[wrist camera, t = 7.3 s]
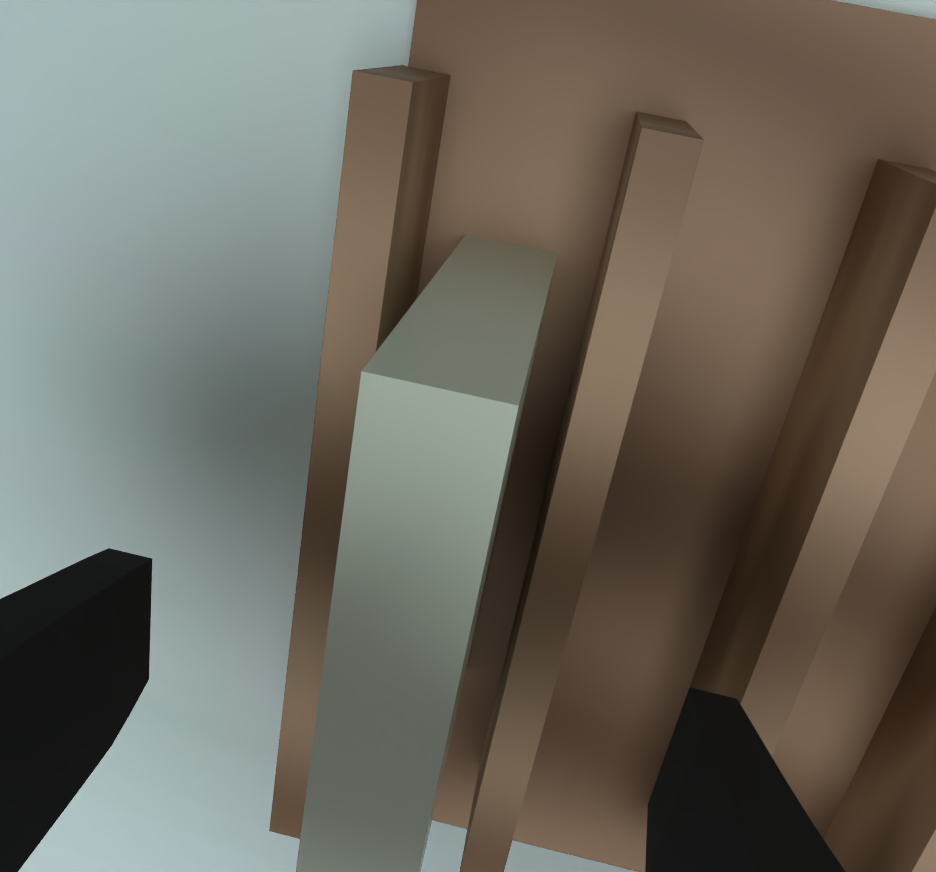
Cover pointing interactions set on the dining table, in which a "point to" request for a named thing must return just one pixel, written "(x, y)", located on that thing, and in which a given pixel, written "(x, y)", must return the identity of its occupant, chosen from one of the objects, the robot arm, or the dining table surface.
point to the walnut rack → (666, 404)
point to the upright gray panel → (418, 552)
